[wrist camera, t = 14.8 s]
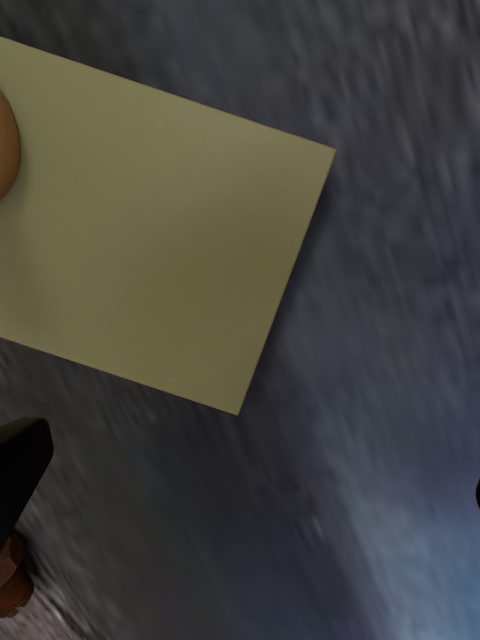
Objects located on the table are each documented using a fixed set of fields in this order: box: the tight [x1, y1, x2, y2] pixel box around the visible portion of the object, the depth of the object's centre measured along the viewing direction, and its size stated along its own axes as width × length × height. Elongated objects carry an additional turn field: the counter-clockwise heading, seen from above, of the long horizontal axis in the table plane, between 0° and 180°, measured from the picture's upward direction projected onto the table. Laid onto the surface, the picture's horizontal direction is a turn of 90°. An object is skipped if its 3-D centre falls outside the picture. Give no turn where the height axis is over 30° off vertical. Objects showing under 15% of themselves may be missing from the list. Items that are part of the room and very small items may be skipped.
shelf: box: [0, 37, 337, 415], centre depth 17 cm, size 20×13×4 cm, turn 72°
